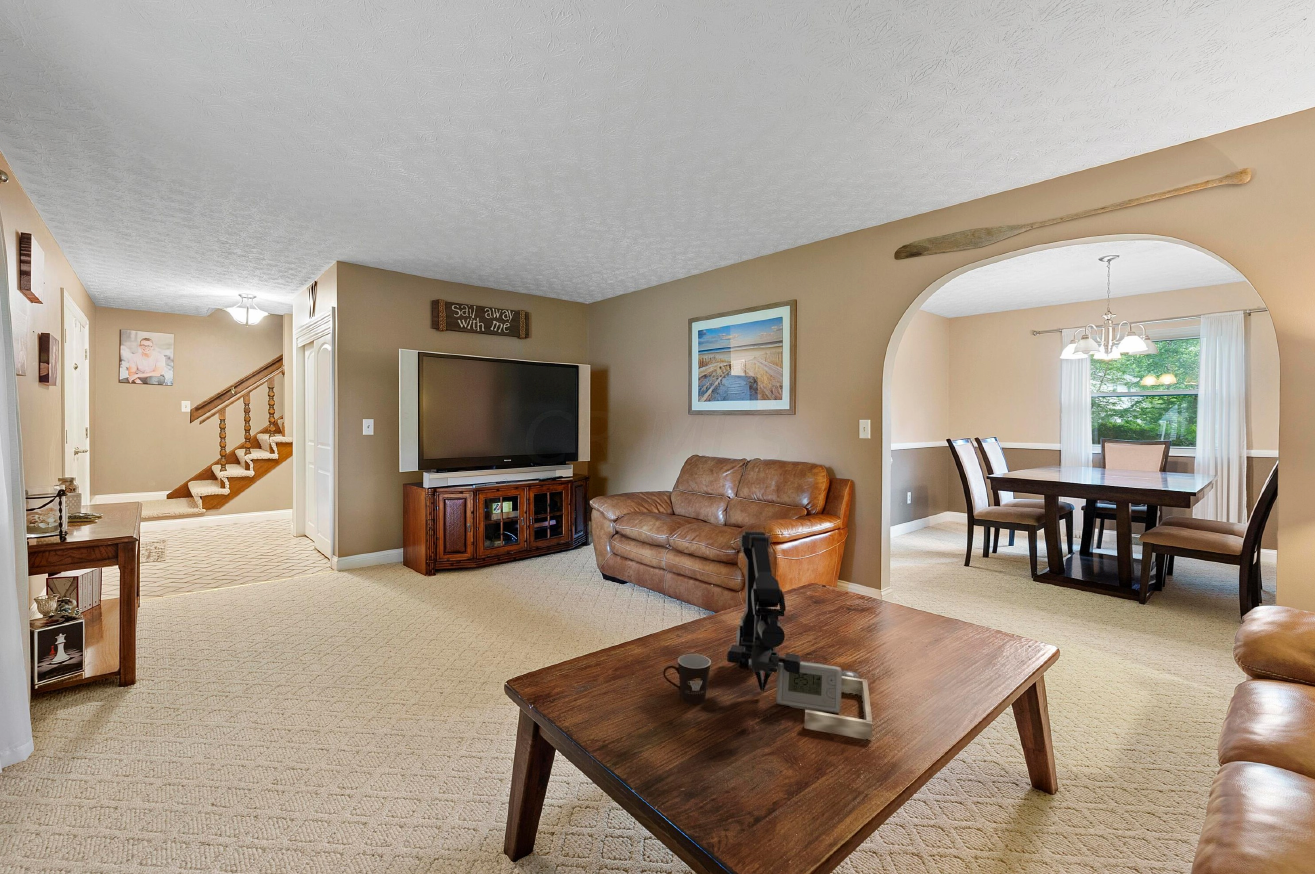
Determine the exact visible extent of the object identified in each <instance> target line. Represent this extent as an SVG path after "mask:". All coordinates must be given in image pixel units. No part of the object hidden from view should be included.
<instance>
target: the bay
mask: <svg viewBox="0 0 1315 874" xmlns="http://www.w3.org/2000/svg"><path fill="white" fill-rule="evenodd" d="M843 692H844V693H843ZM841 693H843V694H849V693H853V694H852V695H855V694H858V695H857V696H861V695H862V696H861V702H862V701H863V703H862V710H863V711H862V712H864V713H863V719H861V718H856V717H852V716H844V715H838V714H835V713H834V714H832V713H829V712H828V713H827V712H819V711H812V710H806V709H804V726H803V727H804V729H807V730H811V731H816V732H817V731H818V732H824V733H827V734H835V735H841V736H845V737H850V738H856V739H860V740H866V739H868V740H867V741H871V740H873V739H872V738H873V726H874V725H873V724H874V723H873V715H872V710H871V709H872V708H871V700H870V693H869V686H868V680H867V679H865V678H859V679H858V678H852V677H845V676H842V684H841Z"/></svg>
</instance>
